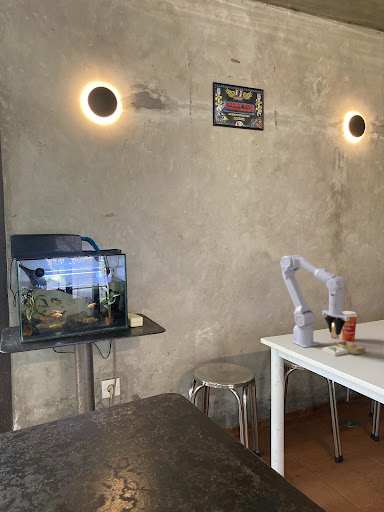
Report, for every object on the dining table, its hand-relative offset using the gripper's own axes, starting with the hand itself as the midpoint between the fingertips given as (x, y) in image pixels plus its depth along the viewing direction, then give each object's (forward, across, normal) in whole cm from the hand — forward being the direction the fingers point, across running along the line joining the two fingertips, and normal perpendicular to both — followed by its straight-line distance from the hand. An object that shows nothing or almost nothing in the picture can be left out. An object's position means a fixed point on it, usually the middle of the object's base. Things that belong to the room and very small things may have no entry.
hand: (335, 333), depth 173 cm
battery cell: (+2, 0, 0) cm, 2 cm away
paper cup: (+9, +11, -20) cm, 24 cm away
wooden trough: (+9, -1, -8) cm, 12 cm away
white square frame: (+9, 0, 0) cm, 9 cm away
